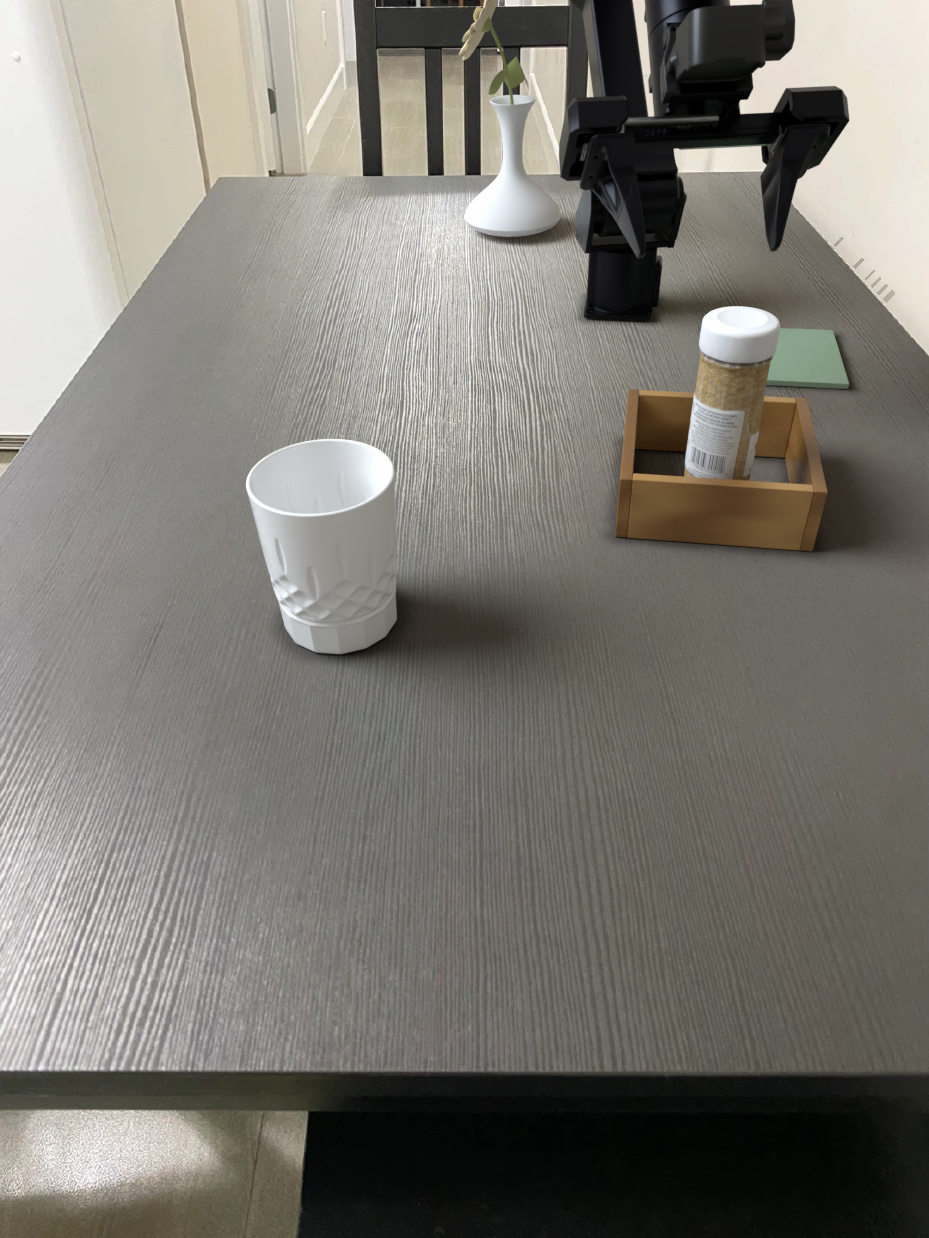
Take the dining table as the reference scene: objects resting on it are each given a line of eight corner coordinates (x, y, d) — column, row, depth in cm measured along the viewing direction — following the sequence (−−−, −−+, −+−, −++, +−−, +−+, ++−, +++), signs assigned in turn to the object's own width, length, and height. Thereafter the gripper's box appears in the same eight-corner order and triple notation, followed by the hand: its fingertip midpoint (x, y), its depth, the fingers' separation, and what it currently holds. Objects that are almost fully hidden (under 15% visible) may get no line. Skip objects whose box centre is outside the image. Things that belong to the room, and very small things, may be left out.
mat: (711, 382, 79) (712, 377, 78) (708, 330, 87) (709, 325, 87) (848, 389, 77) (849, 383, 77) (831, 335, 85) (833, 330, 85)
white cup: (280, 583, 59) (252, 443, 53) (405, 574, 59) (392, 433, 53) (271, 667, 53) (238, 521, 47) (409, 657, 53) (396, 509, 47)
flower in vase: (499, 210, 117) (497, -32, 101) (578, 224, 112) (590, -29, 96) (436, 240, 109) (424, -18, 93) (518, 257, 104) (520, -13, 88)
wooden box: (614, 537, 62) (619, 478, 59) (623, 443, 71) (628, 389, 69) (812, 552, 60) (828, 492, 57) (794, 453, 69) (807, 398, 67)
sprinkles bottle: (759, 512, 64) (798, 320, 55) (710, 535, 62) (743, 340, 53) (710, 483, 67) (740, 297, 58) (662, 504, 65) (686, 315, 56)
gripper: (571, -50, 57) (590, 194, 55) (874, -63, 57) (901, 178, 56) (551, 74, 68) (566, 279, 67) (805, 62, 68) (826, 266, 67)
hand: (708, 252), depth 64 cm, fingers open, 9 cm apart
